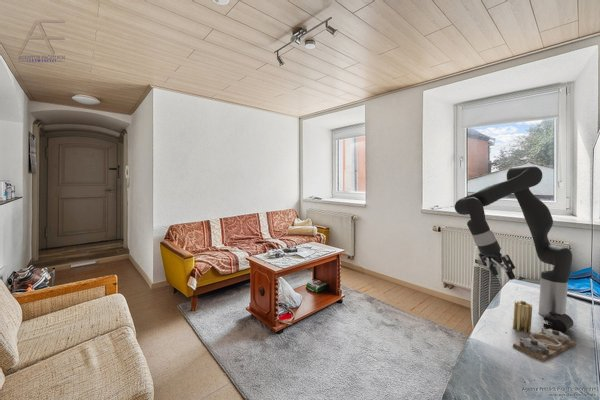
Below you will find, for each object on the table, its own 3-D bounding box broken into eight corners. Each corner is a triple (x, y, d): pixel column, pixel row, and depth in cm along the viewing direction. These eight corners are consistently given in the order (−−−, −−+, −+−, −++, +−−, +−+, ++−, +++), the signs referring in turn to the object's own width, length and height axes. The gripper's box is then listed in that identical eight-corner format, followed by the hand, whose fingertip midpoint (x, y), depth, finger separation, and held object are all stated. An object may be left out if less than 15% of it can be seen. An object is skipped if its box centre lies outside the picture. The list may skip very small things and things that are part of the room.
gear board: (545, 332, 109) (546, 323, 109) (575, 344, 101) (576, 334, 101) (513, 346, 98) (513, 337, 98) (543, 361, 90) (544, 350, 90)
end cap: (566, 338, 105) (567, 322, 105) (542, 330, 111) (543, 314, 111) (573, 332, 111) (574, 316, 110) (550, 324, 117) (551, 309, 116)
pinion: (517, 324, 115) (518, 298, 115) (533, 331, 110) (535, 303, 110) (509, 327, 113) (511, 300, 112) (526, 334, 108) (528, 305, 107)
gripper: (507, 238, 105) (526, 276, 104) (481, 237, 119) (497, 270, 118) (491, 246, 104) (510, 284, 103) (466, 244, 119) (483, 277, 117)
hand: (503, 276), depth 111 cm, fingers open, 8 cm apart
